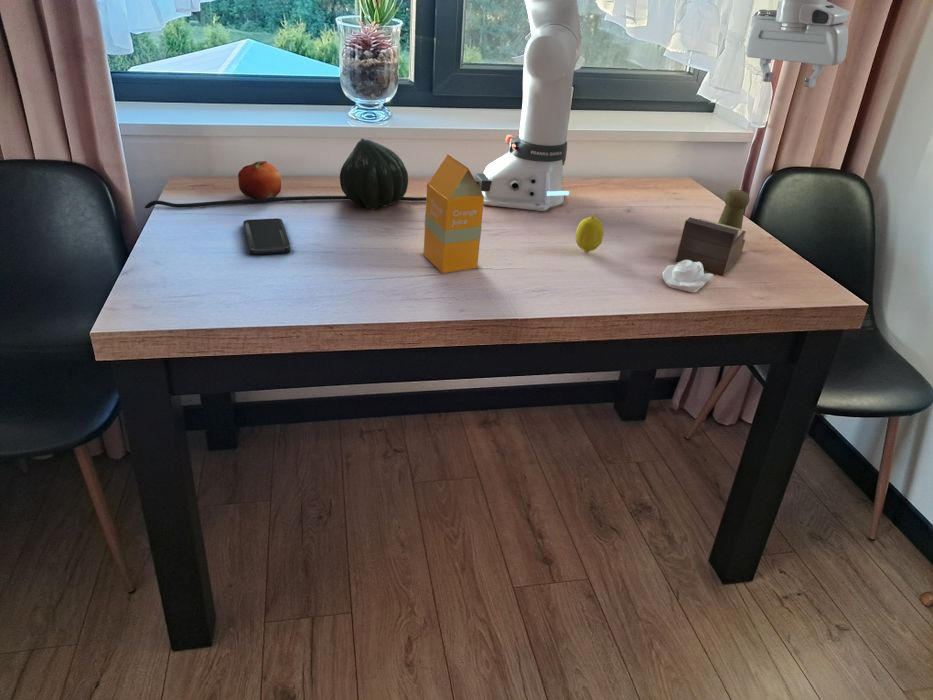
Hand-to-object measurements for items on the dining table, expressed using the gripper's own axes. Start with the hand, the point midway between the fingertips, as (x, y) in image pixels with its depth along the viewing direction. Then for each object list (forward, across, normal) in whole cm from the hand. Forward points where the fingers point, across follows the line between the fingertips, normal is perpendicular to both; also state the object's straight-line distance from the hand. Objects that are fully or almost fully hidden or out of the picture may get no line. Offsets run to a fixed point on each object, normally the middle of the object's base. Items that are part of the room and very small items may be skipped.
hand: (787, 84), depth 154 cm
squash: (+23, -58, -68) cm, 92 cm away
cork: (+32, -3, -10) cm, 34 cm away
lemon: (+29, -14, -45) cm, 55 cm away
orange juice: (+26, -25, -72) cm, 80 cm away
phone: (+22, -51, -98) cm, 112 cm away
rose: (+31, +6, -38) cm, 49 cm away
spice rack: (+32, +1, -23) cm, 39 cm away
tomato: (+20, -72, -88) cm, 116 cm away
